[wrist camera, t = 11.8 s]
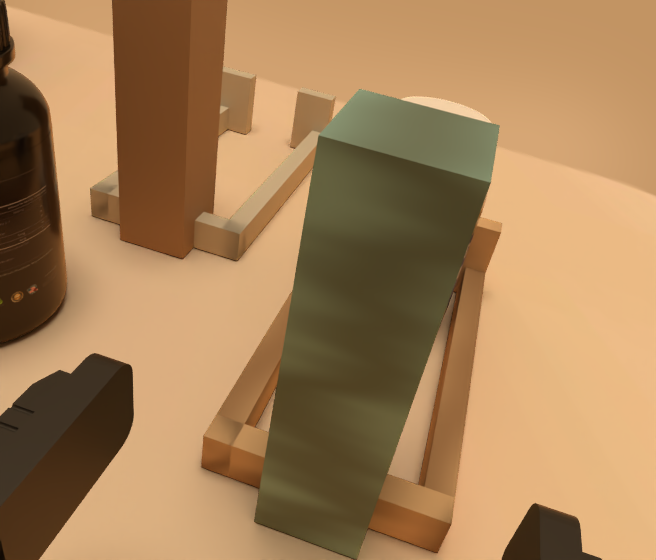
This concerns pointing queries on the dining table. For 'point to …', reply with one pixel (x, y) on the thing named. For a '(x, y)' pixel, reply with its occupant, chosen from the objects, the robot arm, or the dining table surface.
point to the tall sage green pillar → (368, 331)
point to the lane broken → (189, 131)
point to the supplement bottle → (27, 202)
